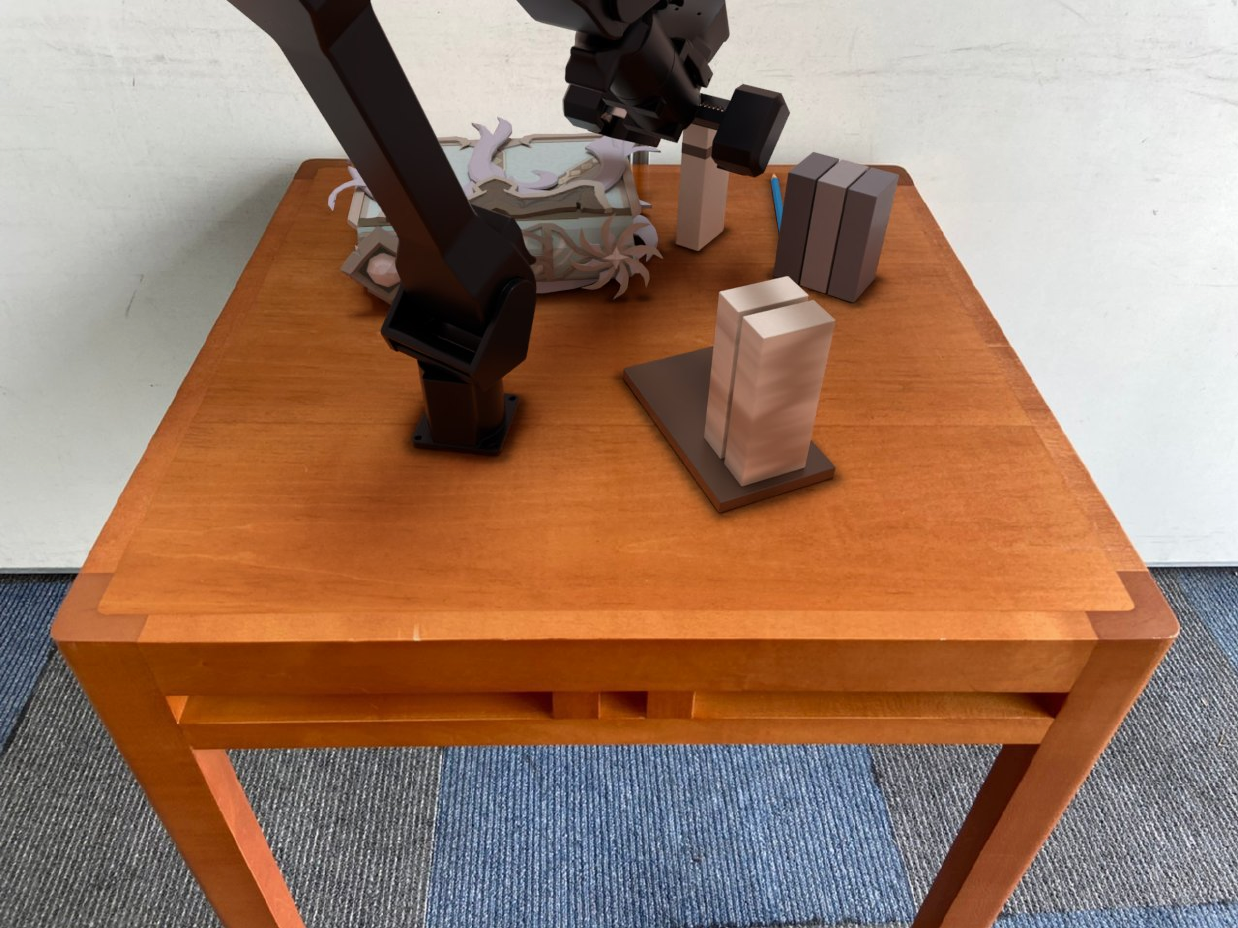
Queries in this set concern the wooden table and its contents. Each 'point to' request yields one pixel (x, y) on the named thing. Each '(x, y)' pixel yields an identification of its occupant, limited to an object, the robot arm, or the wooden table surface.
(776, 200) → the pencil
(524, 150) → the ornate book
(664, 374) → the white book rack
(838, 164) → the grey books
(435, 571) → the wooden table surface
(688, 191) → the white book
